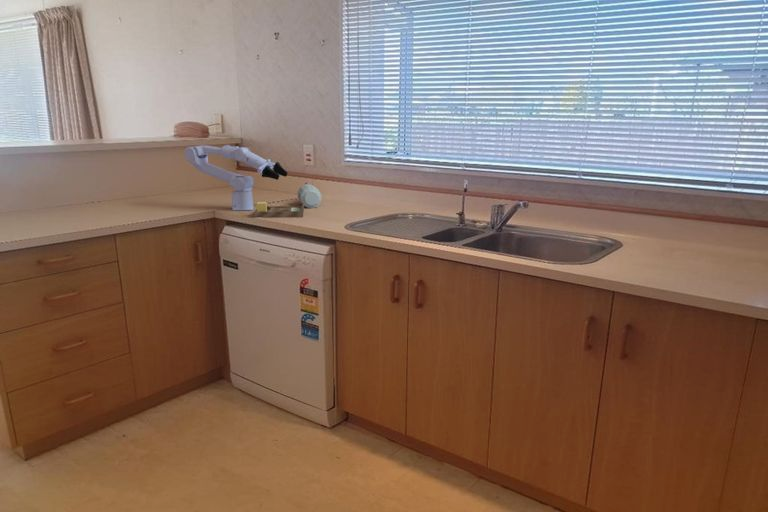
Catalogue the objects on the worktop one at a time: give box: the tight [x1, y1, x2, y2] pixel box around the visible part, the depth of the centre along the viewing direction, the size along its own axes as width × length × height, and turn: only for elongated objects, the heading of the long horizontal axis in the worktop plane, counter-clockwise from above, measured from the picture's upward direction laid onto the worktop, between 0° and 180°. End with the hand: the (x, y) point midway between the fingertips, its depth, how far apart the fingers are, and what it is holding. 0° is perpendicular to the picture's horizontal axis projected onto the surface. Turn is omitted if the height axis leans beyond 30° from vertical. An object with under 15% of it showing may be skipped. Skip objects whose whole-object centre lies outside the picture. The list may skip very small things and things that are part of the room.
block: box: [256, 201, 268, 212], centre depth 243 cm, size 4×4×4 cm
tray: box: [253, 203, 305, 218], centre depth 247 cm, size 22×13×4 cm, turn 96°
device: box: [297, 182, 322, 209], centre depth 275 cm, size 31×10×10 cm, turn 16°
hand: (282, 176), depth 249 cm, fingers open, 7 cm apart
